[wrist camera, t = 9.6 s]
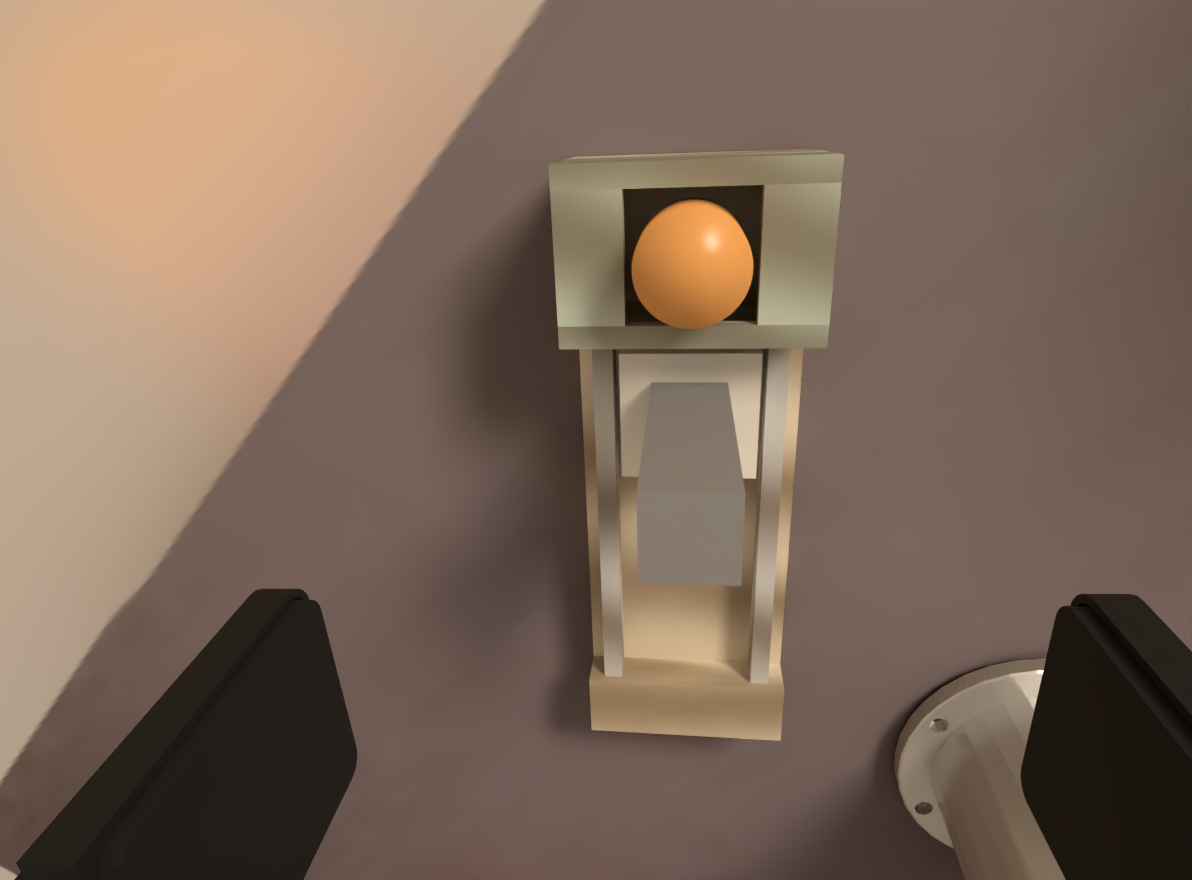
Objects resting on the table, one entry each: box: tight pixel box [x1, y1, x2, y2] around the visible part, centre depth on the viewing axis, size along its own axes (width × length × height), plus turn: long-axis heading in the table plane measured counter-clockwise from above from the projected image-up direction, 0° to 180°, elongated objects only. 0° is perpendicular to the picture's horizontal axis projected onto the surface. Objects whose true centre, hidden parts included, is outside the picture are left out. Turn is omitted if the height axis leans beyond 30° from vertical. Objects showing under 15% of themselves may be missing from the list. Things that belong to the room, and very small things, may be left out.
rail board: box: [548, 149, 844, 741], centre depth 31 cm, size 26×9×6 cm, turn 2°
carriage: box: [619, 349, 763, 586], centre depth 25 cm, size 5×5×12 cm
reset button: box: [632, 198, 753, 329], centre depth 23 cm, size 4×4×3 cm
